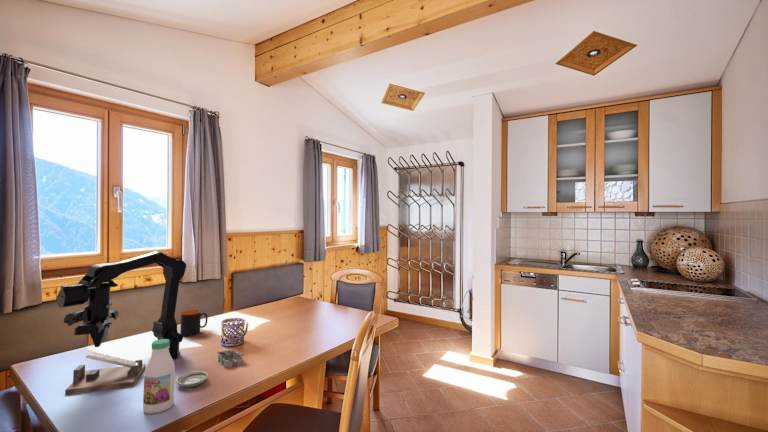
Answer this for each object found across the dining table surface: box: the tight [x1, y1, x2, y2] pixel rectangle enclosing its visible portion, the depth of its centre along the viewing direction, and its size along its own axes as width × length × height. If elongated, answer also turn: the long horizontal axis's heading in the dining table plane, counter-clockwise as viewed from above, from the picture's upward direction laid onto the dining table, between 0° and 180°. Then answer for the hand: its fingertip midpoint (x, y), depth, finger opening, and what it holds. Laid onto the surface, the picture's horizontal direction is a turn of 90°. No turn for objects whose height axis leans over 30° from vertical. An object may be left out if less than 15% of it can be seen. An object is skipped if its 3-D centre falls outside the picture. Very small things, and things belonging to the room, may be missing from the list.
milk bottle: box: [142, 339, 176, 415], centre depth 101 cm, size 8×8×20 cm
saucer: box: [175, 370, 209, 388], centre depth 116 cm, size 10×10×2 cm
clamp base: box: [64, 359, 147, 395], centre depth 116 cm, size 18×14×6 cm
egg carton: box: [216, 349, 244, 368], centre depth 134 cm, size 11×8×4 cm
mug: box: [179, 309, 208, 338], centre depth 164 cm, size 8×12×10 cm
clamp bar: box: [85, 351, 140, 368], centre depth 117 cm, size 16×3×1 cm, turn 112°
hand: (97, 346), depth 115 cm, fingers closed
